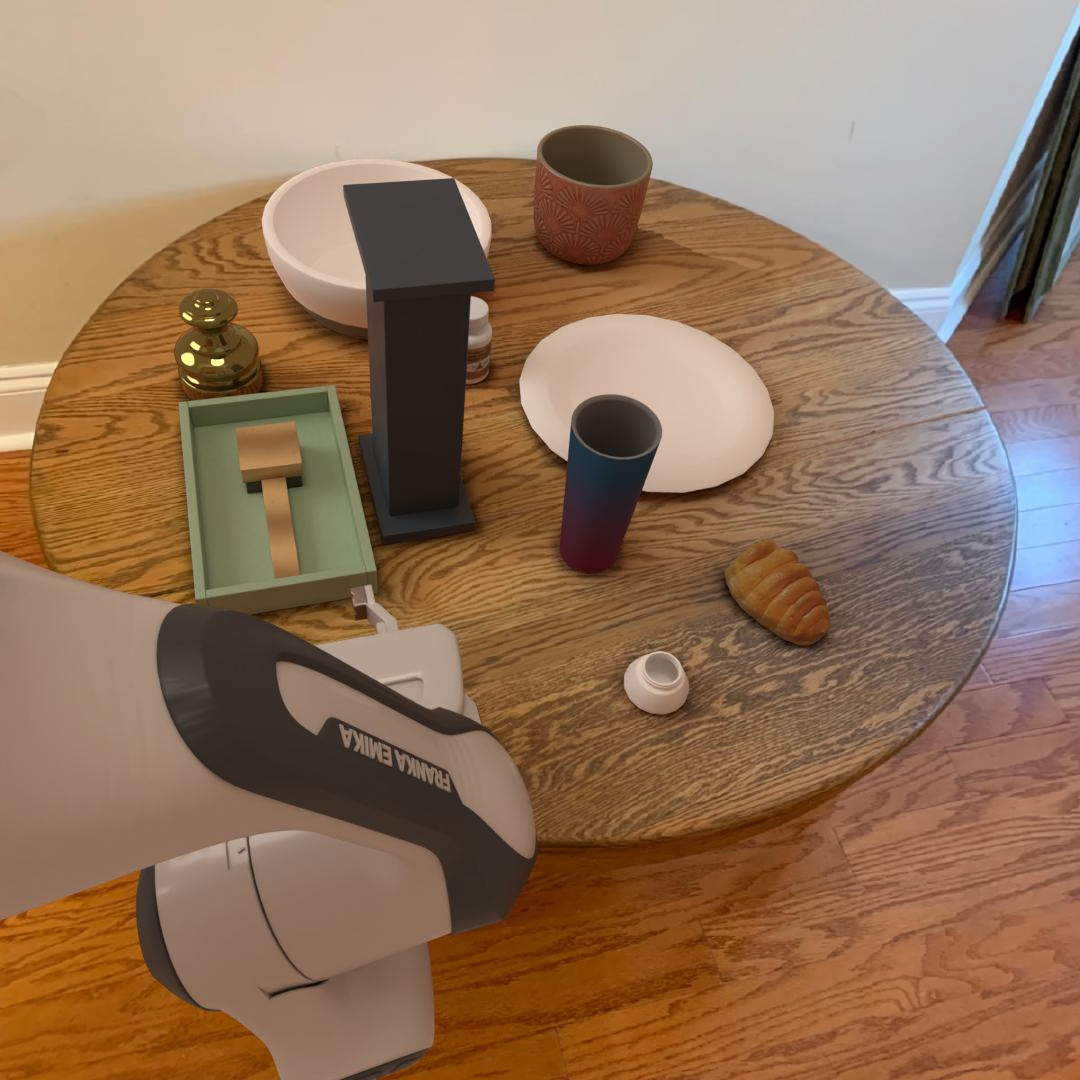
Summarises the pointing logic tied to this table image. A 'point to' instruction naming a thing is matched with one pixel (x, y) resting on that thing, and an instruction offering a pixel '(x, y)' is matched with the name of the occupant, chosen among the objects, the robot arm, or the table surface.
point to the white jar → (656, 683)
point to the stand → (417, 350)
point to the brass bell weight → (216, 348)
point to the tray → (240, 519)
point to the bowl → (337, 237)
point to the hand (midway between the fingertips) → (290, 602)
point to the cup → (605, 477)
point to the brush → (274, 484)
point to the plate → (654, 394)
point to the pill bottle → (478, 342)
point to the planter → (589, 192)
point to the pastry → (779, 593)
